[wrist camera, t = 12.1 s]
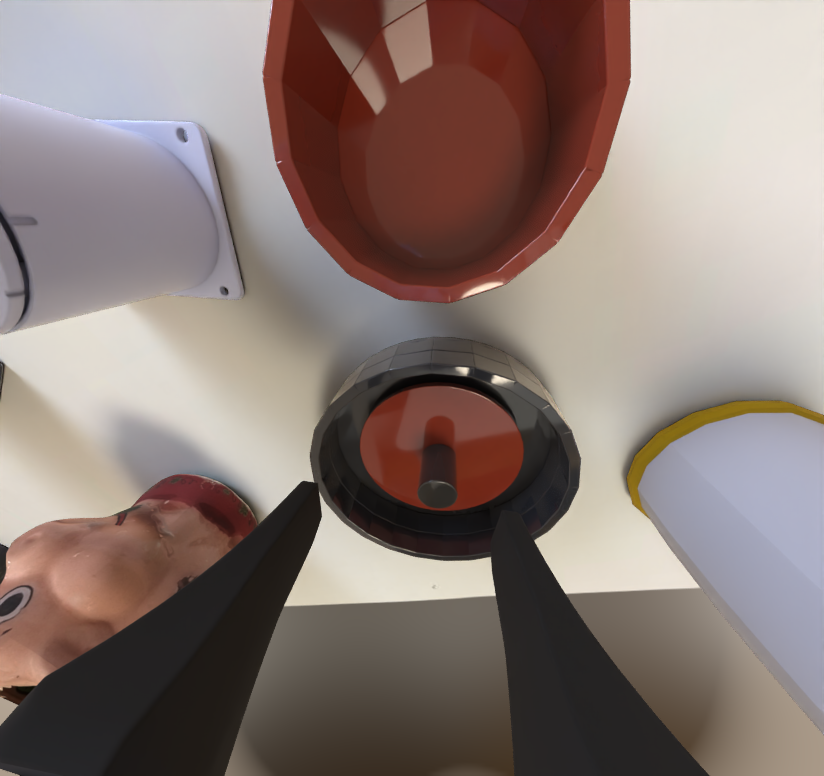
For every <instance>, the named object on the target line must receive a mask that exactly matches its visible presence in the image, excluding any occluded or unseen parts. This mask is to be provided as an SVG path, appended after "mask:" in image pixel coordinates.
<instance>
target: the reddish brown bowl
mask: <svg viewBox="0 0 824 776" xmlns="http://www.w3.org/2000/svg"><path fill="white" fill-rule="evenodd" d="M630 77H631V48H630V0H272V3H271V11H270V19H269V26H268V34H267V42H266V49H265V57H264V65H263V83H264V90H265V96H266V103H267V109H268V116H269V123H270V129H271V136H272V142H273V149H274V156H275V161H276V162H277V163H276V164H277V167H278V169H279V171H280V173H281V175H282V178H283V180H284V182H285V184H286V186H287V188H288V191H289V193H290V195H291V197H292V199H293V201H294V204H295V206H296V208H297V210H298V212H299V214H300V217H301V219H302V221H303V223H304V225H305V227H306V229H307V230H308V232H309V233H310V234H311V235H312V236H313V237H314V238H315V239H316V240H317V241H318V243H319V244H320V245H321V246H322V247H323V248H324V249H325V250H326V251H327V252H328V253H329V254H330V256H331V257H332V258H333V259H334V260H335V261H336V262H337V263H338V264H339V265H340V266H341V267H342V268H343V270H344V271H345V272H346V273H347V274H349V275H350V276H351V277H353V278H355V279H357V280H359V281H361V282H363V283H365V284H367V285H369V286H371V287H373V288H375V289H377V290H379V291H381V292H383V293H385V294H387V295H389V296H391V297H393V298H395V299H398V300H409V301H423V302H437V303H450V302H451V303H453V302H456V301H459V300H462V299H465V298H468V297H471V296H474V295H477V294H480V293H483V292H486V291H489V290H492V289H495V288H498V287H501V286H503V285H504V284H505V285H506V284H507V283H508V282H510V281H511V280H512V279H513V278H515V277H516V276H517V275H518V274H520V273H521V272H522V271H523V270H525V269H526V268H527V267H528V266H530V265H531V264H532V263H533V262H535V261H536V260H537V259H538V258H540V257H541V256H542V255H543V254H545V253H546V252H547V251H548V250H550V249H551V248H552V247H553V246H555V245H556V244H557V242H559V240H560V239H561V237H562V236H563V234H564V233H565V231H566V230H567V228H568V227H569V225H570V224H571V222H572V220H573V219H574V217H575V216H576V214H577V213H578V211H579V210H580V208H581V207H582V205H583V204H584V202H585V201H586V199H587V198H588V196H589V195H590V193H591V192H592V190H593V189H594V187H595V186H596V184H597V183H598V181H599V179H600V178H601V176H602V173H603V172H604V168H605V165H606V162H607V158H608V155H609V151H610V148H611V145H612V141H613V138H614V135H615V131H616V128H617V125H618V121H619V118H620V115H621V111H622V108H623V105H624V101H625V98H626V95H627V91H628V88H629V85H630Z"/></svg>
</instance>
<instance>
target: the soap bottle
mask: <svg viewBox="0 0 824 776" xmlns="http://www.w3.org/2000/svg"><path fill="white" fill-rule="evenodd" d="M627 483H628V487H629V492H630V496H631V500H632V504H633V505H634V506H635V507H636V508H638V509H639V510H640V511H641V512H642V513H643V514H644V515H646V516H647V517H648V518H649V519H650V520H651V521H652V523H653V524H654V526H655V527H656V529H657V530H658V532H659V533H660V534H661V536H662V537H663V539H664V540H665V542H666V543H667V545H668V546H669V548H670V549H671V550H672V551H673V553H674V554H675V555H676V557H677V558H678V559H679V561H680V562H681V563H682V564H683V566H684V567H685V568H686V570H687V571H688V572H689V573H690V575H691V576H692V577H693V579H694V580H695V581H696V582H697V584H698V585H699V586H700V588H701V589H702V590H703V591H704V593H705V594H706V595H707V597H708V598H709V599H710V601H711V602H712V603H713V604H714V606H715V607H716V608H717V610H718V611H719V612H720V614H721V615H722V616H723V617H724V618H725V620H726V621H727V622H728V623H729V624H730V625H731V627H732V628H733V629H734V630H735V632H736V633H737V634H738V635H739V636H740V637H741V639H742V640H743V641H744V642H745V643H746V645H747V646H748V647H749V648H750V649H751V650H752V652H753V653H754V654H755V655H756V657H757V658H758V659H759V660H760V661H761V662H762V664H763V665H764V666H765V667H766V668H767V670H769V672H770V673H771V674H772V675H773V677H774V678H775V679H776V680H777V681H778V683H779V684H780V685H781V686H782V687H783V689H784V690H785V691H786V692H787V693H788V694H789V696H790V697H791V698H792V699H793V701H794V702H795V703H796V704H797V705H798V706H799V707H800V709H801V710H802V711H803V712H804V713H805V714H806V715H807V716H808V718H809V719H810V720H811V721H812V722H813V723H814V725H815V726H816V727H817V728H818V729H819V730H820V731H821V732H822V734H823V735H824V415H822V414H819V413H816V412H813V411H811V410H808V409H805V408H802V407H800V406H797V405H794V404H791V403H788V402H783V401H735V402H731V403H727V404H724V405H720V406H716V407H713V408H709V409H705V410H702V411H698V412H695V413H692V414H690V415H688V416H687V417H685V418H683V419H681V420H679V421H678V422H676V423H674V424H672V425H670V426H669V427H667V428H665V429H663V430H661V431H660V432H658V433H657V434H656V435H655V436H654V437H653V438H652V439H651V440H650V441H649V442H648V443H647V444H646V445H645V446H644V447H643V448H642V449H641V450H640V451H639V452H638V453H637V454H636V455H635V457H634V460H633V463H632V465H631V468H630V470H629V473H628V476H627Z"/></svg>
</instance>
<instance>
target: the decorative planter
mask: <svg viewBox="0 0 824 776" xmlns="http://www.w3.org/2000/svg"><path fill="white" fill-rule="evenodd" d="M257 526H258V525H257V521H256V518H255V516H254V514H253V513H252V511H251V509H250V508H249V506H248V505H247V504H246V503H245V502H244V501H243V500H242V499H241V498H240V497H238V496H237V495H236V494H235V493H234V492H233V491H232V490H231V489H230V488H228V487H227V486H225V485H224V484H222V483H220V482H218V481H216V480H213V479H211V478H208V477H204V476H200V475H190V474H178V475H173V476H170V477H167V478H165V479H163V480H161V481H160V482H158V483H157V484H155V485H154V486H153V487H151V488H150V489H149V490H148V491H146V492H145V493H144V494H143V495H142V496H141V497H140V498H139V499H138V500H137V501H136V503H135V504H134V505H133V506H132V507H131V508H129V509H127V510H124V511H122V512H119V513H117V514H115V515H112V516H109V517H105V518H77V519H63V520H56V521H51V522H47V523H44V524H42V525H39V526H37V527H35V528H33V529H31V530H29V531H28V532H26V533H24V534H23V535H21V536H20V537H18V538H17V539H16V540H15V541H14V542H13V543H12V544H11V546H10V548H9V549H8V551H7V553H6V567H7V568H6V575H5V577H4V579H3V581H2V583H1V584H0V697H2V698H4V699H6V700H9V701H11V702H13V703H15V704H17V705H19V704H20V703H21V702H22V701H23V700H24V698H25V697H26V696H27V695H28V694H29V693H30V692H31V691H32V690H33V689H34V688H35V687H36V686H37V685H38V683H39V682H40V681H41V680H42V679H43V678H44V677H46V676H47V675H49V674H50V673H52V672H54V671H56V670H57V669H59V668H61V667H62V666H64V665H66V664H67V663H69V662H71V661H72V660H74V659H76V658H77V657H79V656H80V655H82V654H84V653H85V652H87V651H89V650H90V649H92V648H94V647H95V646H97V645H99V644H100V643H102V642H104V641H105V640H107V639H108V638H110V637H112V636H113V635H115V634H116V633H118V632H119V631H121V630H122V629H124V628H125V627H127V626H128V625H130V624H131V623H133V622H134V621H136V620H137V619H139V618H140V617H142V616H143V615H145V614H146V613H148V612H149V611H151V610H152V609H154V608H155V607H157V606H158V605H160V604H161V603H163V602H164V601H165V600H167V599H168V598H170V597H171V596H172V595H174V594H175V593H177V592H178V591H179V590H181V589H182V588H183V587H185V586H186V585H187V584H189V583H190V582H191V581H193V580H194V579H195V578H197V577H198V576H199V575H201V574H202V573H203V572H204V571H206V570H207V569H208V568H209V567H211V566H212V565H213V564H214V563H216V562H217V561H218V560H219V559H221V558H222V557H223V556H224V555H225V554H227V553H228V552H229V551H230V550H231V549H232V548H233V547H235V546H236V545H237V544H238V543H239V542H240V541H241V540H242V539H244V538H245V537H246V536H247V535H248V534H249V533H250V532H251V531H253V530H254V529H255V528H256V527H257Z"/></svg>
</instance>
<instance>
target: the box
mask: <svg viewBox="0 0 824 776" xmlns="http://www.w3.org/2000/svg"><path fill="white" fill-rule="evenodd" d="M2 375H3V364H2V363H0V392H1V384H2Z"/></svg>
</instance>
